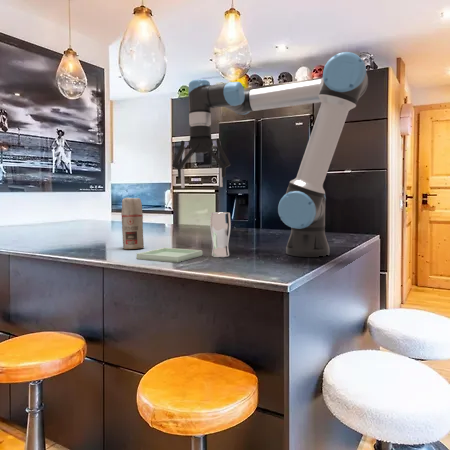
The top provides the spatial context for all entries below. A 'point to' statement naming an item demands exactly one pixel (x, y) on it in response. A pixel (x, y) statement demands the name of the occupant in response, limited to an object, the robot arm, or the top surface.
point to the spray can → (132, 223)
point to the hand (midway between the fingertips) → (202, 187)
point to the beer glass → (220, 233)
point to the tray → (170, 255)
